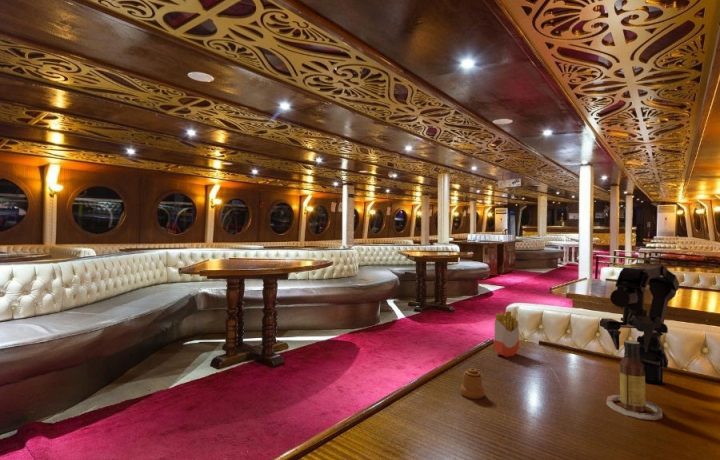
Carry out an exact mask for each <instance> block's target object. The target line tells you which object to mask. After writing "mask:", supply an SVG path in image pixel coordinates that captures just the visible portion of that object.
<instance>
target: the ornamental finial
mask: <svg viewBox="0 0 720 460" xmlns="http://www.w3.org/2000/svg"><path fill="white" fill-rule="evenodd" d="M462 376H463V377H462V384H461V386H460V387H459V391H460V393H461V395H462V396H463V397H465V398H467V399H472V400H480V399H483V398H484V396H485V394H486V392H485V389H484V387H483V374H482V373H481V372H480V371H478V369H476V368H473V367H471V368H468V369H467V370H465V371H463V375H462Z"/></svg>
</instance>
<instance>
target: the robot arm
mask: <svg viewBox="0 0 720 460" xmlns="http://www.w3.org/2000/svg"><path fill="white" fill-rule="evenodd" d="M614 285H615V288H616V290H613V291H612V292H611V293H610V296H609V298H610V302H611V303H612V305H614V306H616V307H618V308H620V309H621V310H622V317H620V321H619V320H616V319H615V318H606V317H605V318H604V317H602V318H600V320H599V326H600V327H601V328H603V329H604V330H606V331H607V333H608V335H609V337H610V339H611V341H612V343H613V345H614V349H615V350H616V351H619V350H620V335H621V334H622V331H621V330H620V329H621V328H623V329H624V328H625V329H635V330H636V331H638V332H641V333H643V334H642V335H638V336H637V338H636V342H639V343H640V348H639V355H640V360H641V363H642V365H643V367H644V371H645V384H652V385H653V384H655V385H667V383H666V382H665V381H663V379H664V369H667V368H669V367H668V366H669V359H668V356H667V354H666V352H665V345H664V344H663V342H662V340H661V339H662V336H664V334H668V332H669V331H668V330H669V328H668V325H667V324H666V323H665V318H666V314H667V311H668V310H667V309H668V305H669V302H670V301H671V300H672V299H673V298H675V297H676V295H677V291H679V289H680V282H679V279H678V276H677V275H676V274H674V273H673V272H672V271H670V270H669V269H668V268H667V266H665V265H663V264H653V263H651V264H648V265H645V266H642V267H629V266H628V267H627V266H626V267H622V269H621V270H620V271H619V273H618V276H617V279H616V282H615V284H614ZM647 287H648V291H650V294H651V295H652V299H651V304H650V307H649V313H648V312H647V309H645V292H646V288H647ZM647 313H648V314H647Z"/></svg>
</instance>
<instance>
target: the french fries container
mask: <svg viewBox="0 0 720 460" xmlns="http://www.w3.org/2000/svg"><path fill="white" fill-rule="evenodd" d="M493 336H494V339H493V341H494V342H493V350H494V351H495V352H496V353H497V355H500V356H502V357H505V358H508V357H512V356H516V354H517V352H518V350H519V348H520V347H519V346H520V324H519V320H517V317H516V316H513V315H512V311H511V310H506V311H505V313H504V312H503V311H500V313H495V319H494V335H493Z"/></svg>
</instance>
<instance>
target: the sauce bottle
mask: <svg viewBox="0 0 720 460" xmlns="http://www.w3.org/2000/svg"><path fill="white" fill-rule="evenodd" d="M623 346H624V349H623V351H624V353H623V354H624V355H623V358H622V359H621V360H620V362H619V369H620V370H619V395H620V400H619V401H620V405H621V406H620V407H622V408H624V409H626V410H630V411H634V412H638V413H644V412H645V411H646V406H645V405H646V401H647V400H646V382H645V371H644V367H643V365H642V363H641V360H640V355H639V348H640V343H639V342H637V340H628V339H627V340H623Z"/></svg>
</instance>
